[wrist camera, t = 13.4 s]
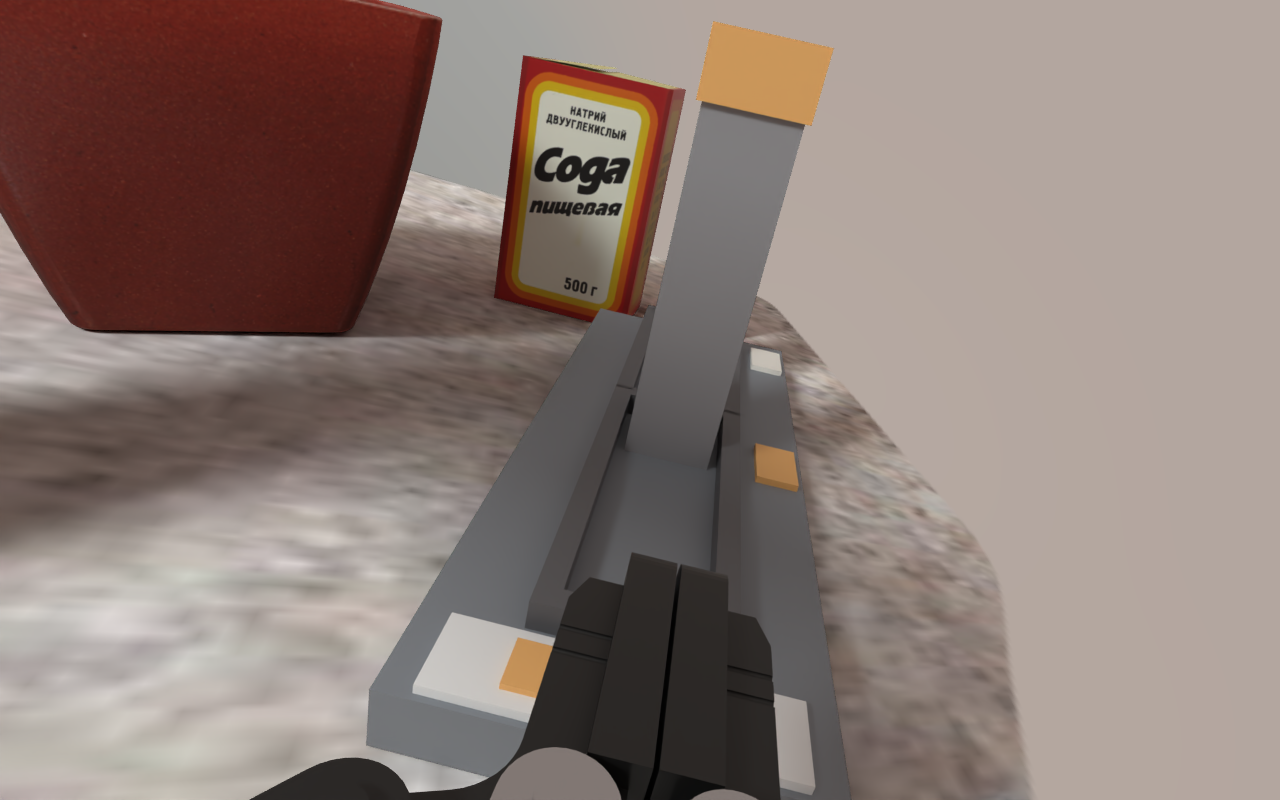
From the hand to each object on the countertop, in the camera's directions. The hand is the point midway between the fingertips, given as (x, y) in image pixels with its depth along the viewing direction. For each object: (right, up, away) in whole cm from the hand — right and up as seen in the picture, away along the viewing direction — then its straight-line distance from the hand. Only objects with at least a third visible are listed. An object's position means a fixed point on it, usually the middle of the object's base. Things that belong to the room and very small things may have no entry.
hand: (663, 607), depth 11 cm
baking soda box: (-6, +10, +42) cm, 43 cm away
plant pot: (-25, +9, +31) cm, 40 cm away
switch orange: (+1, +1, +21) cm, 21 cm away
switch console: (+1, -1, +21) cm, 21 cm away
